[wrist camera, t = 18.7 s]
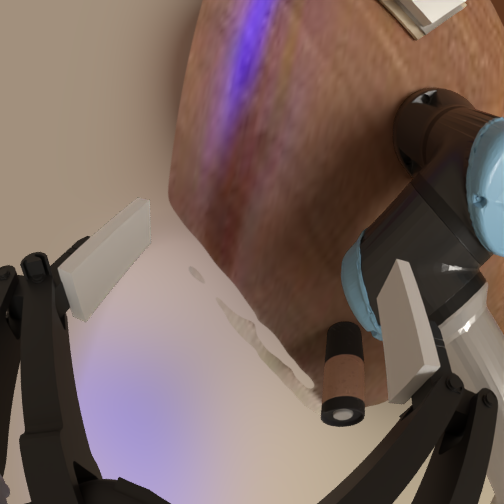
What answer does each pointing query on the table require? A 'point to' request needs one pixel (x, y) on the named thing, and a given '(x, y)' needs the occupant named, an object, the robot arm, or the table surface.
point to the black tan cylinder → (343, 376)
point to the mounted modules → (430, 9)
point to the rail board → (410, 22)
